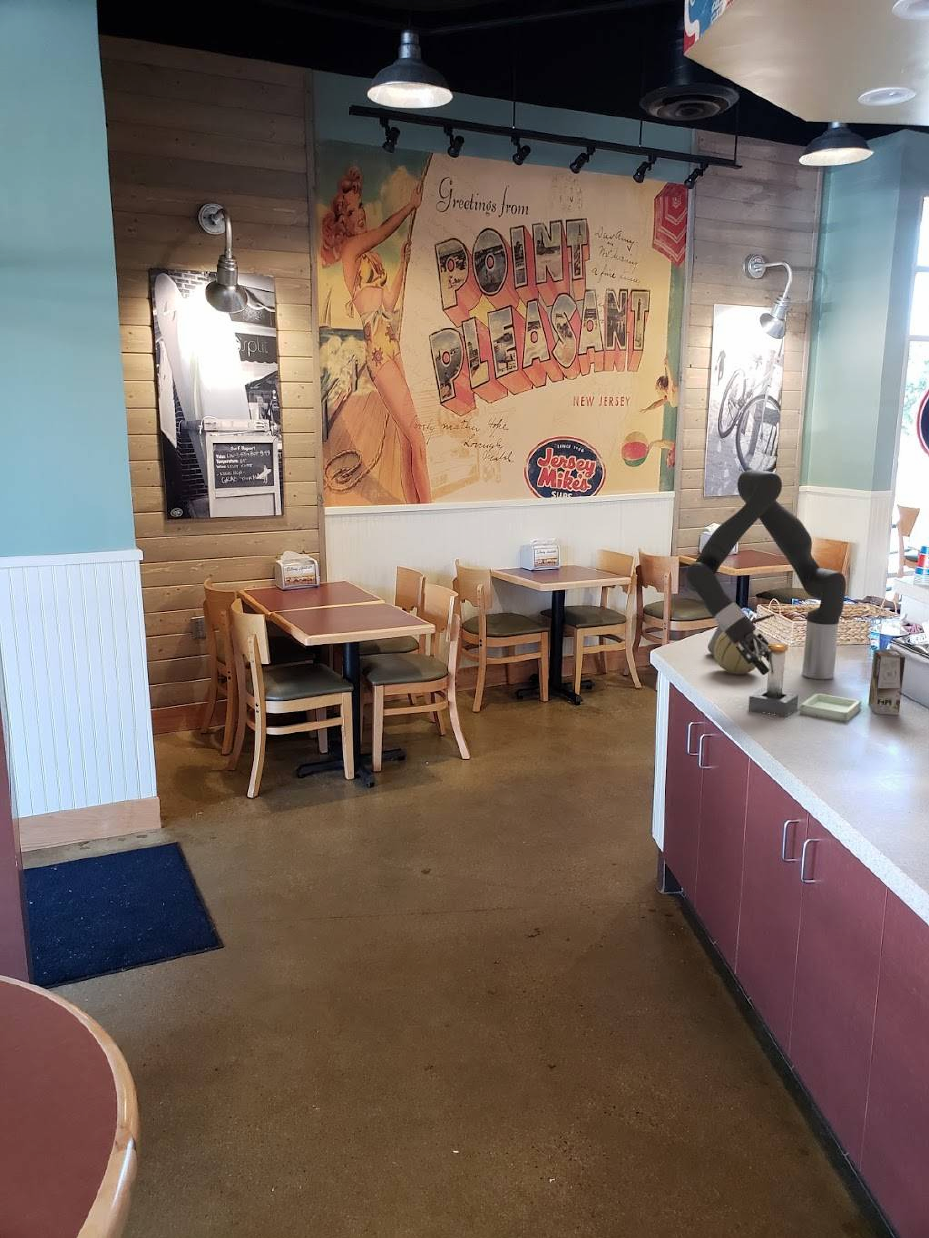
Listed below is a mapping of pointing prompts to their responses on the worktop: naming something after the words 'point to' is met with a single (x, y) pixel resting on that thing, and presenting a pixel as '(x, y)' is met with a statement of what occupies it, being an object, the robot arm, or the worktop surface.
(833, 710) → the tray
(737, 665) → the cantaloupe
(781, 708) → the socket block
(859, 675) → the worktop surface
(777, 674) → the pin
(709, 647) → the coffee pot
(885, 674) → the coffee box
